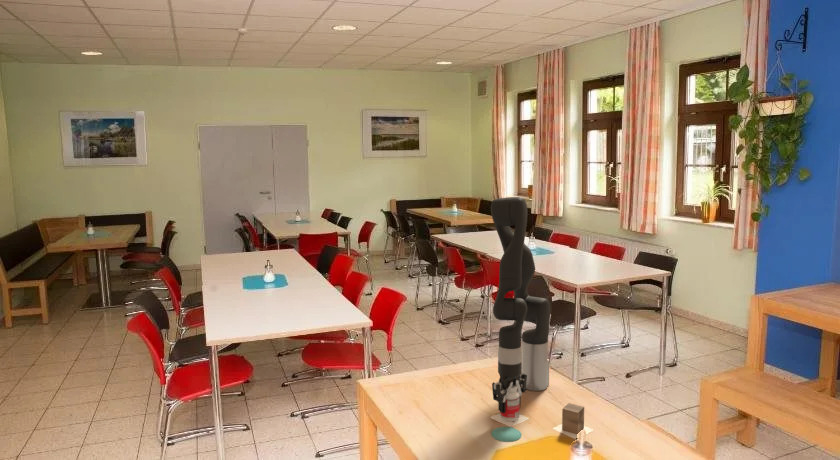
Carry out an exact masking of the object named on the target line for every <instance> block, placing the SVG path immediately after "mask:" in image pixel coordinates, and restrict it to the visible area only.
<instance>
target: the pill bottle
mask: <svg viewBox="0 0 840 460" xmlns="http://www.w3.org/2000/svg"><path fill="white" fill-rule="evenodd" d="M503 392H506V390H503ZM502 398H503V394H502ZM519 398H520V396H519V392H518V391H517V386H516V385H515V386H512V387H511V388H510V392H509V395H508V396H507V397H506V400H505V402H506V412H505V413H501V412H500V411H499V413H500V417H501V419H503V420H505V421H510V422H511V421H516V420H518V419H519V414H520V407H519Z"/></svg>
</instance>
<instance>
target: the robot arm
mask: <svg viewBox="0 0 840 460" xmlns="http://www.w3.org/2000/svg"><path fill="white" fill-rule="evenodd" d="M490 212H491V219H492V222H493V224H494V227H495V229H496V232H497V235H498V238H499V241H500V243H501V246H502V247H501V248H502V251H503V255H502V256H501V258H500V261H499V267H498V271H499V273H498V278H499V279H498V288H497V289H498V290H497V293H496V294H497V295H496V297H495V300H494V303H493V307H492V314H493V316H494V318H495V319H496V320H499V321H515V322H514V323H513V324H509V325H506V326H505V325H504V326H501V327H500V328H499V330H498V350H497V373H498V375H499V379H498V381H497V382H492V383H491V388H492V398H493V400H494V401H496V402H498V411H499V413H500V412H501V413H505V412H506V402H505V400H506V397H507V396H508V395H509V392H510V388H511V387H512V386H515V385H516V386H517V391H518V392H519V396H520V398H519V408H521V403H522V400H521V399H522V394H523V393H524V394H525V393H526V390H528V391H534V392H537V391H538V392H540V391H544V390H546V389H547V388H548V386H550V360H549V359H548V357H549V356H548V353H549V352H548V351H549V333H550V320H551V319H550V317H551V305H550V301H549V299H547V298H545V297H537V296H531V295H530V294H529V293H528V287H529V285H530V283H531V282H532V279H533V277H534V276H535V274H536V273H535V272H536V265H535V264H536V263H535V261H534V257H533V255H534V254H533V253H532V250H531V249H530V248H529V247H528V245H527V244H525V238H526V233H527V232H526V231H527V225H528V224H527V223H528V205H527V202H526V200H525V198H524V197H522V196H511V197H499V198H495V199H494V200H492V202H491V204H490ZM513 226H514V232H513V230H512V228H511V227H513ZM510 292H513V294H514V297H506V295H507V294H508V293H510ZM524 322H527V323H533V324H535V325H536V326H535V327H534V328H531V329H526V330H524V331H523V327H524ZM522 331H523V332H522ZM503 390H506V392H503ZM502 394H503V398H502Z"/></svg>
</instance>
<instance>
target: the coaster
mask: <svg viewBox="0 0 840 460" xmlns="http://www.w3.org/2000/svg"><path fill="white" fill-rule="evenodd" d="M491 436H492V438H493V439H495V440H498V441H499V442H500V441H501V442H504V443H506V442H507V443H511V442H517V441H519V440H520V439H521V438H522V432H521V431H520V430H519V429H518V428H515V427H509V426H501V427H496V428H494V429H493V430H492V431H491Z"/></svg>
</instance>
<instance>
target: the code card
mask: <svg viewBox="0 0 840 460" xmlns="http://www.w3.org/2000/svg"><path fill="white" fill-rule="evenodd" d="M489 418H490V419H492V420H494V421H496V422H498V423H500V424H503V425H505V426H506V427H511V428H513V427H514V426H516V425H518V424H521V423H523V422H525V421H527V420H530V417H527V416H525V415H522V414H521V413H519V419H518V420H516V421H511V422H510V421H505V420H503V419H501V417H500V412H499V413H497V414H495V415H492V416H490V417H489Z"/></svg>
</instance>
